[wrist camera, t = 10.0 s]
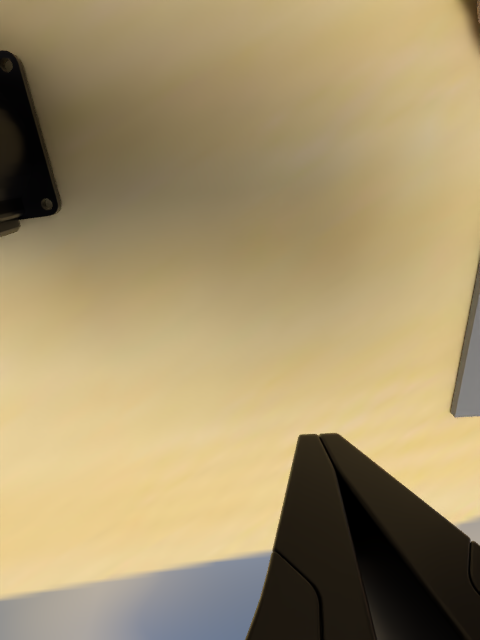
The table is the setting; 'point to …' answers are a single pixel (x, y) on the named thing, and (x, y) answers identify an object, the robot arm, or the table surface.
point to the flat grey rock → (478, 10)
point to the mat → (469, 364)
